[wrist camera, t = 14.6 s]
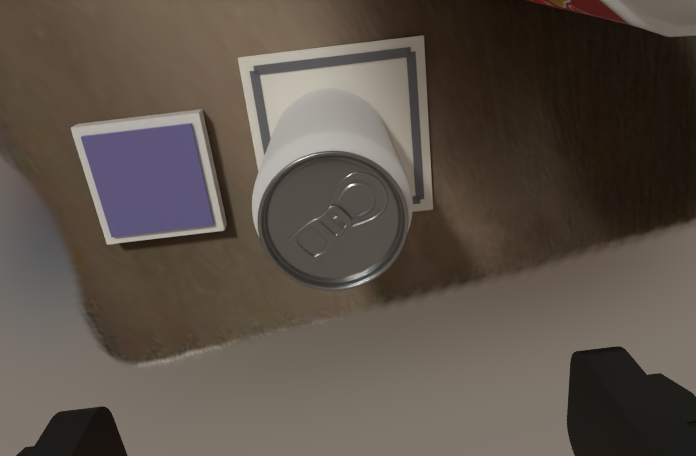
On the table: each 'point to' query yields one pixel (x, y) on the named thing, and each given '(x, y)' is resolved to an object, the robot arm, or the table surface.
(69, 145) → the table surface
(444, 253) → the table surface
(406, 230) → the can
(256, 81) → the card
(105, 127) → the ink pad
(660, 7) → the smoothie
